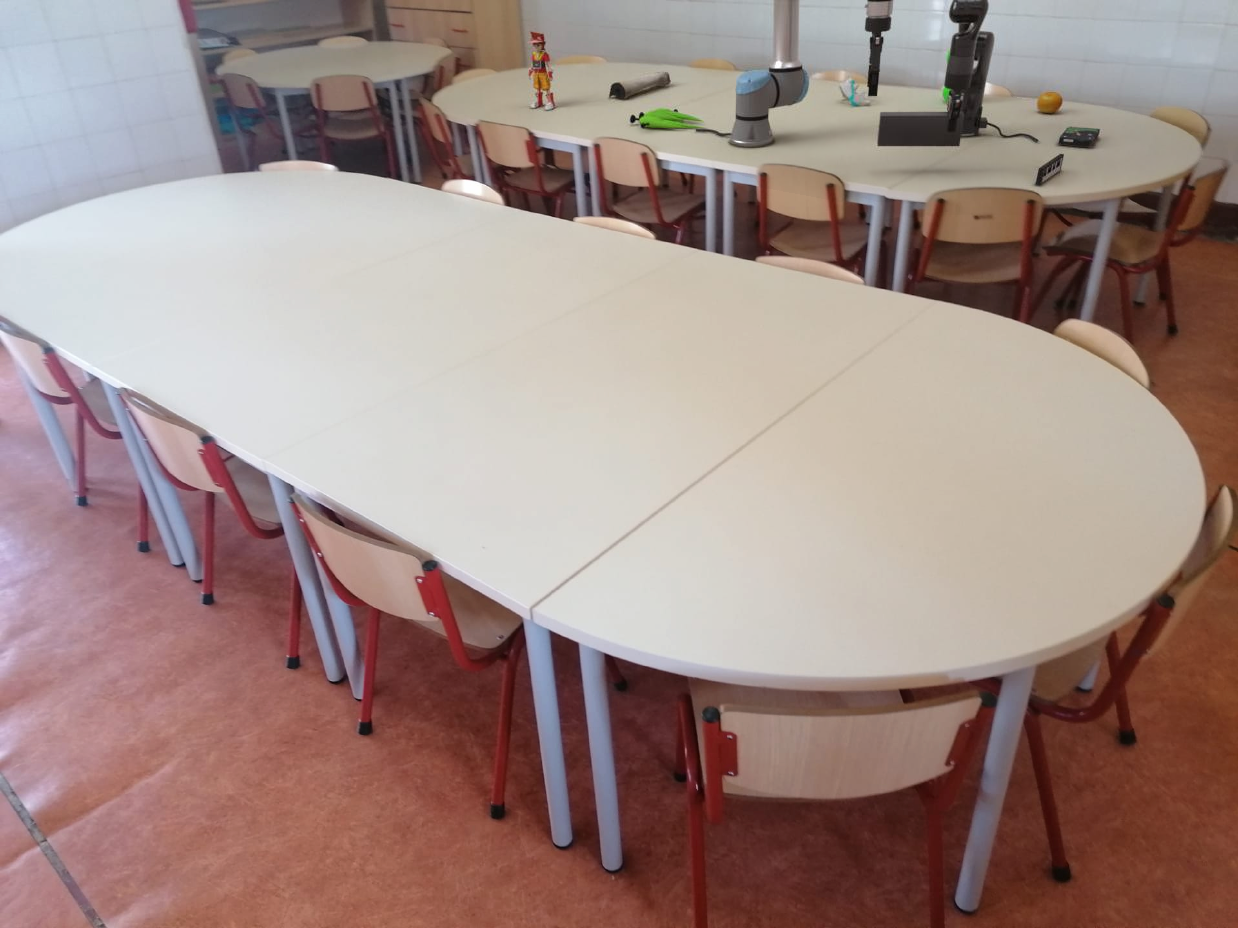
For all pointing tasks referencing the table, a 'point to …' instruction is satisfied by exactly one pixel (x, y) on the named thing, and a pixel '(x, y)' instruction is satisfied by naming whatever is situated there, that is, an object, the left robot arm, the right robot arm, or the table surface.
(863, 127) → the table surface
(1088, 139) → the disk drive
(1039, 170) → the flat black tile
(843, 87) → the anatomical model
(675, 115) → the toy
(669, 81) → the rolled mat
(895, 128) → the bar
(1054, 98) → the fruit
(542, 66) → the toy
